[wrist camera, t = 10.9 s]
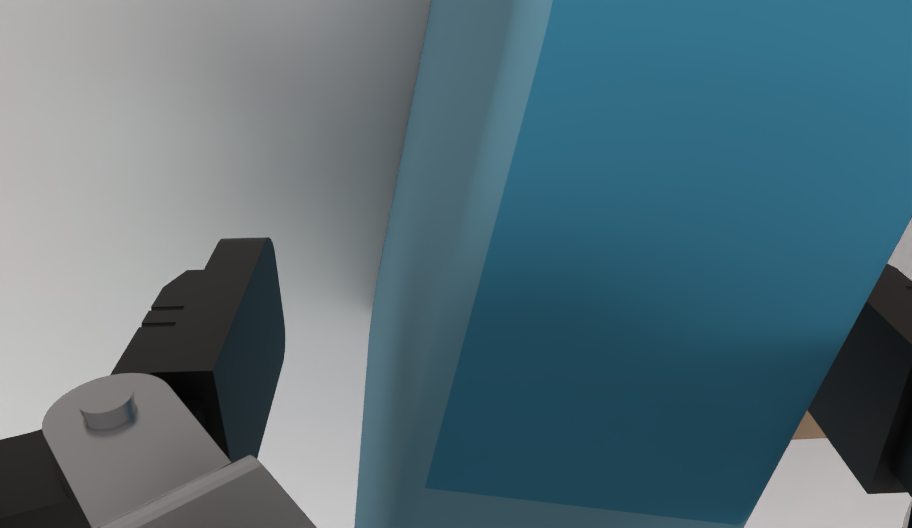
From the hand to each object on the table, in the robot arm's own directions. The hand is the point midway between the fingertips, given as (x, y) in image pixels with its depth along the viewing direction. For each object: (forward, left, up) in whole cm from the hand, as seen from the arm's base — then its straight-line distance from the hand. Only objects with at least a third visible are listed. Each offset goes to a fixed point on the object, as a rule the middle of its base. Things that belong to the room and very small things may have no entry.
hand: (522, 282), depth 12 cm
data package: (0, 0, -8) cm, 8 cm away
